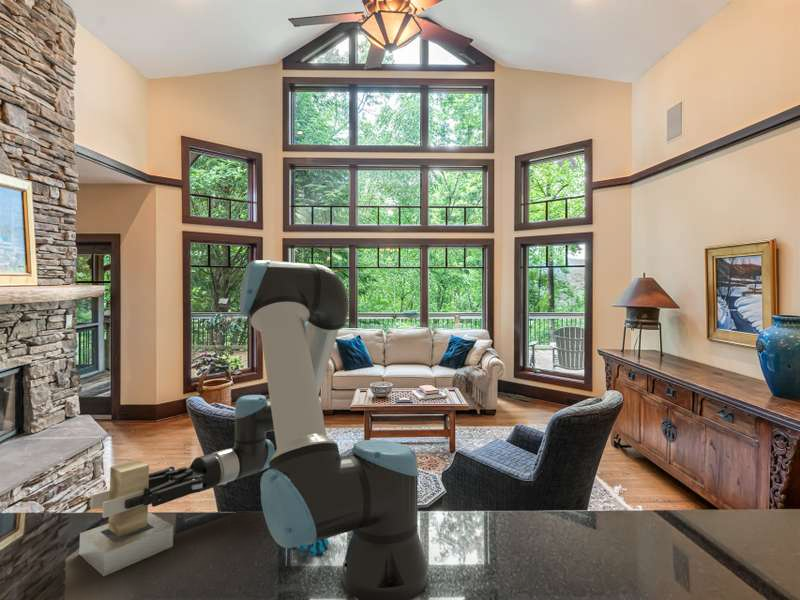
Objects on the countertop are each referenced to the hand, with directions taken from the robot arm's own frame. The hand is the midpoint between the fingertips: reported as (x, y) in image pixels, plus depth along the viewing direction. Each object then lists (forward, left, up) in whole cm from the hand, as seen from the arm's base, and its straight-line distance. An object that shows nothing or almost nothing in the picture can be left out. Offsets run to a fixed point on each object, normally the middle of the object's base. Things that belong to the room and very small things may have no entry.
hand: (97, 505), depth 78 cm
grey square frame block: (0, -5, -10) cm, 12 cm away
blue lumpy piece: (-29, -27, -11) cm, 41 cm away
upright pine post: (0, -5, -6) cm, 8 cm away
